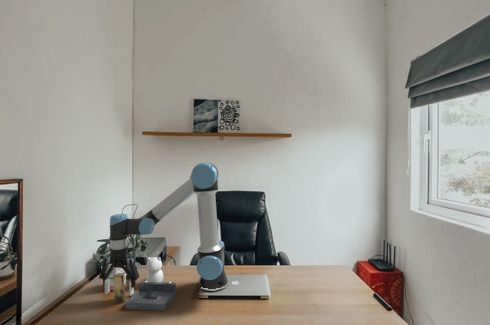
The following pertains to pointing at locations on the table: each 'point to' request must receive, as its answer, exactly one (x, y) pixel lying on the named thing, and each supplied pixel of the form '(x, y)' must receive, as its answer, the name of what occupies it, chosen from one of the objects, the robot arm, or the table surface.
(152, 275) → the cat figurine
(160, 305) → the jig
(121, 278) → the sleeve
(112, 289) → the ink box
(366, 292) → the table surface
